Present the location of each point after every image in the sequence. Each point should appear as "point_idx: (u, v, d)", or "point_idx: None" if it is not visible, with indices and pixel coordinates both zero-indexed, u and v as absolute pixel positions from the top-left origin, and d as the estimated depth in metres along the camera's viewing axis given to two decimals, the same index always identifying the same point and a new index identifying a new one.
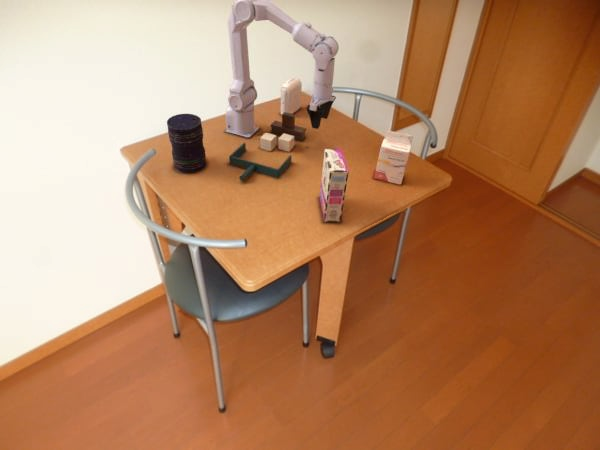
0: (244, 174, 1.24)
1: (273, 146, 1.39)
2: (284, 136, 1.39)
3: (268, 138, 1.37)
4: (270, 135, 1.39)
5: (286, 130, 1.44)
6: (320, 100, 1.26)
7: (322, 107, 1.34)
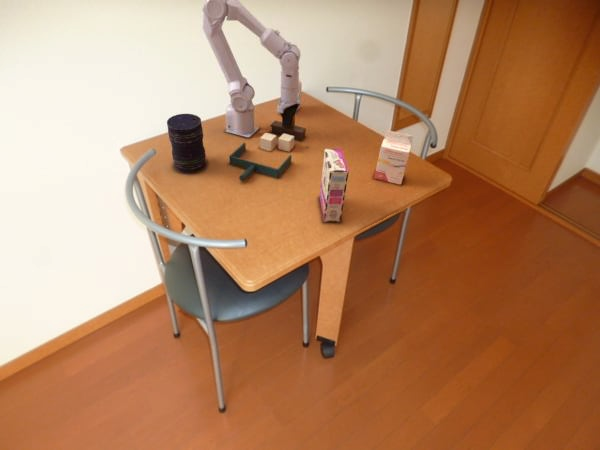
0: (244, 174, 1.24)
1: (273, 146, 1.39)
2: (284, 136, 1.39)
3: (268, 138, 1.37)
4: (270, 135, 1.39)
5: (286, 130, 1.44)
6: (287, 103, 1.36)
7: None
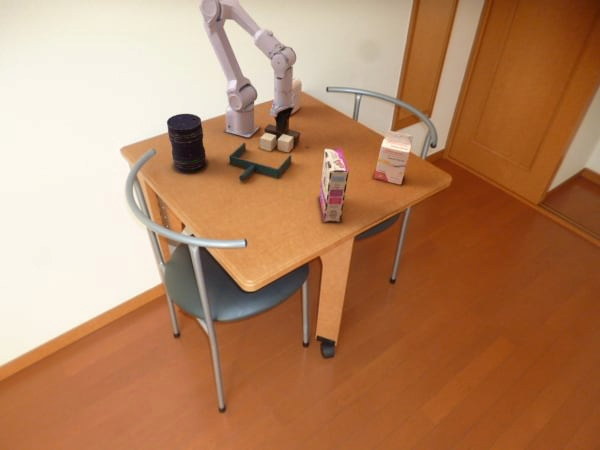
0: (244, 174, 1.24)
1: (273, 146, 1.39)
2: (283, 137, 1.38)
3: (268, 138, 1.37)
4: (270, 135, 1.39)
5: (281, 135, 1.40)
6: (280, 106, 1.32)
7: None
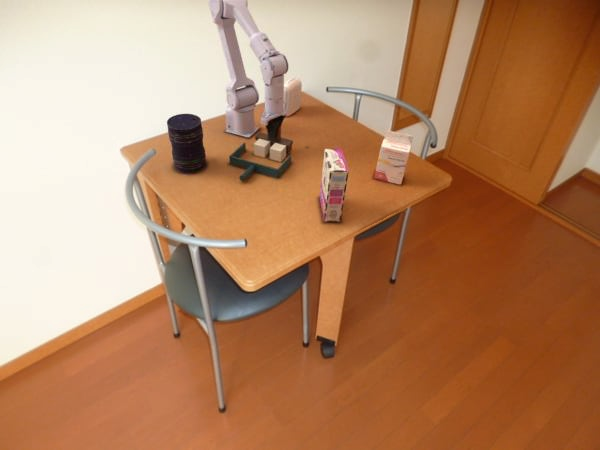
0: (244, 174, 1.24)
1: (266, 153, 1.36)
2: (276, 146, 1.34)
3: (262, 144, 1.34)
4: (264, 141, 1.36)
5: (272, 143, 1.36)
6: (271, 115, 1.28)
7: None
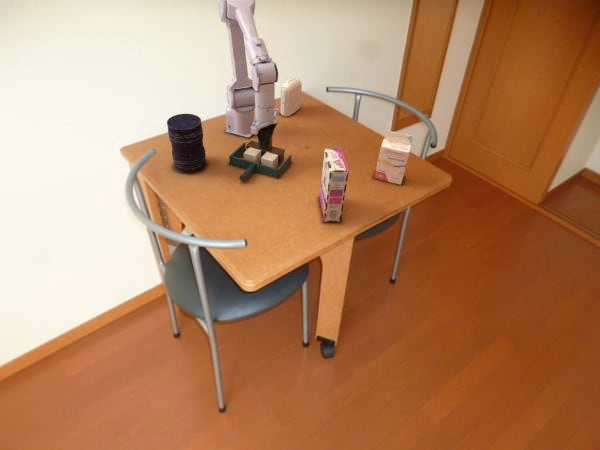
0: (244, 174, 1.24)
1: (257, 162, 1.32)
2: (267, 155, 1.29)
3: (252, 153, 1.30)
4: (255, 150, 1.31)
5: (263, 152, 1.32)
6: (262, 123, 1.23)
7: None
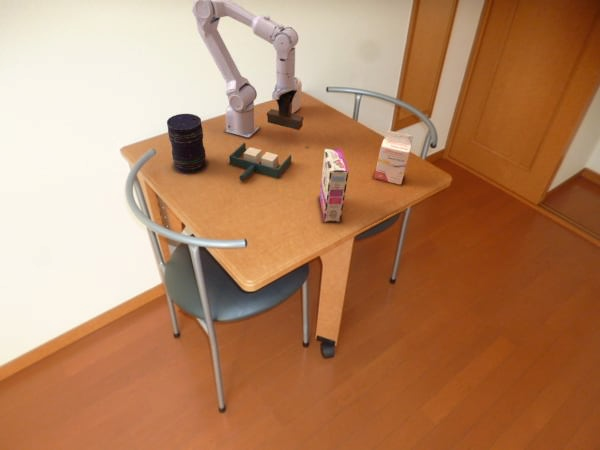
0: (244, 174, 1.24)
1: (257, 162, 1.32)
2: (267, 155, 1.29)
3: (252, 153, 1.30)
4: (255, 150, 1.31)
5: (283, 119, 1.38)
6: (283, 89, 1.30)
7: None
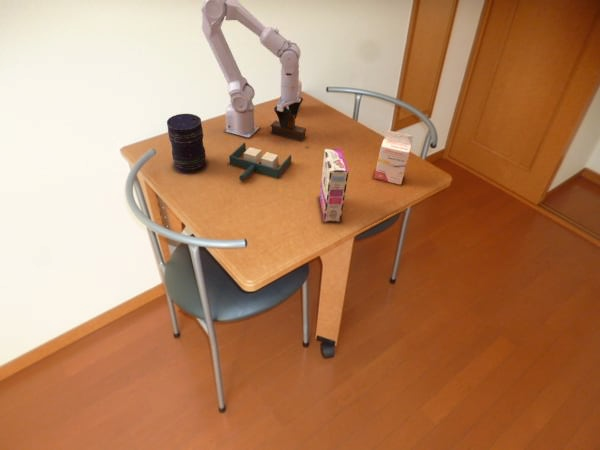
0: (244, 174, 1.24)
1: (257, 162, 1.32)
2: (267, 155, 1.29)
3: (252, 153, 1.30)
4: (255, 150, 1.31)
5: (287, 130, 1.44)
6: (287, 101, 1.36)
7: (291, 108, 1.45)
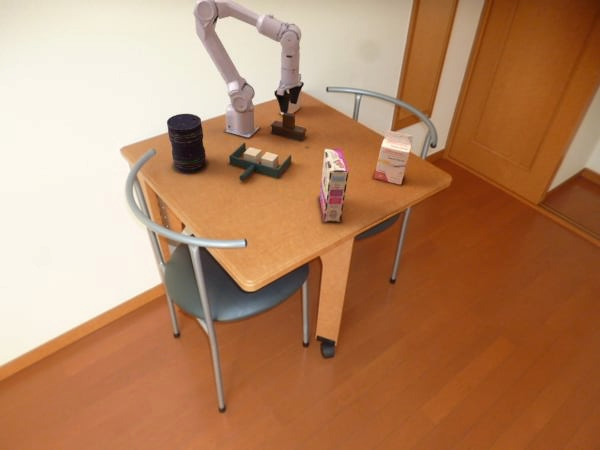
0: (244, 174, 1.24)
1: (257, 162, 1.32)
2: (267, 155, 1.29)
3: (252, 153, 1.30)
4: (255, 150, 1.31)
5: (287, 130, 1.44)
6: (287, 85, 1.32)
7: (291, 93, 1.41)
